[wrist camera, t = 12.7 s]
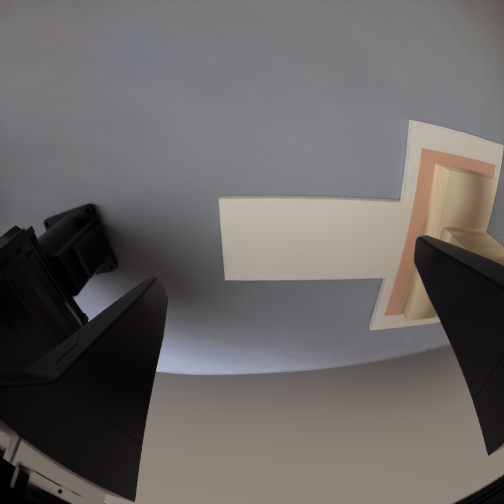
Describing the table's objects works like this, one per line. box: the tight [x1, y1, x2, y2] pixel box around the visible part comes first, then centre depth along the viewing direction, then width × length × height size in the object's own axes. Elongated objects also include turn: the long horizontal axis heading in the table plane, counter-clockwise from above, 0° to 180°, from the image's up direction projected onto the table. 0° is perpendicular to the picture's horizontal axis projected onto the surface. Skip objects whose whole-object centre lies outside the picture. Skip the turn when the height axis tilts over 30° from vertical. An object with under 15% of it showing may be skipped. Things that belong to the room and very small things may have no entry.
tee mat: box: [219, 120, 504, 330], centre depth 21 cm, size 25×20×1 cm
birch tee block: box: [400, 164, 504, 321], centre depth 15 cm, size 6×14×13 cm, turn 1°
